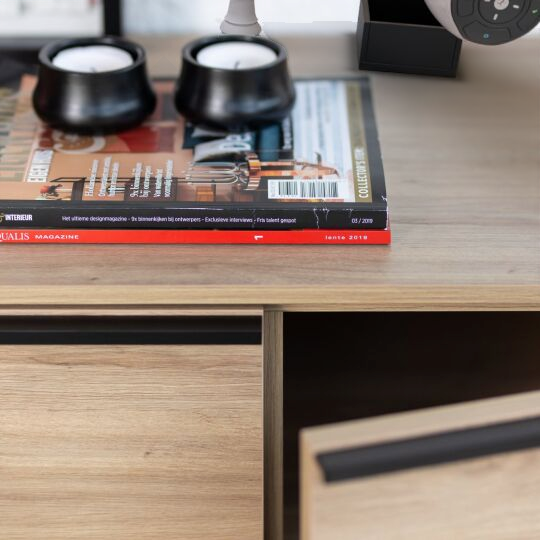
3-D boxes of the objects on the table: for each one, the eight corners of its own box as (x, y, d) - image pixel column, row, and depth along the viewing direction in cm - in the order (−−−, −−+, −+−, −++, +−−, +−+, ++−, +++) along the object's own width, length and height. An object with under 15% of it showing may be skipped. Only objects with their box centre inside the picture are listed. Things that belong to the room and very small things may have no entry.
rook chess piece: (211, 44, 97) (214, -35, 93) (228, 31, 101) (231, -46, 96) (251, 52, 96) (256, -27, 91) (267, 39, 99) (273, -38, 95)
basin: (445, 43, 102) (453, -1, 100) (455, 77, 94) (464, 30, 91) (355, 35, 102) (361, -9, 100) (358, 69, 94) (364, 22, 91)
